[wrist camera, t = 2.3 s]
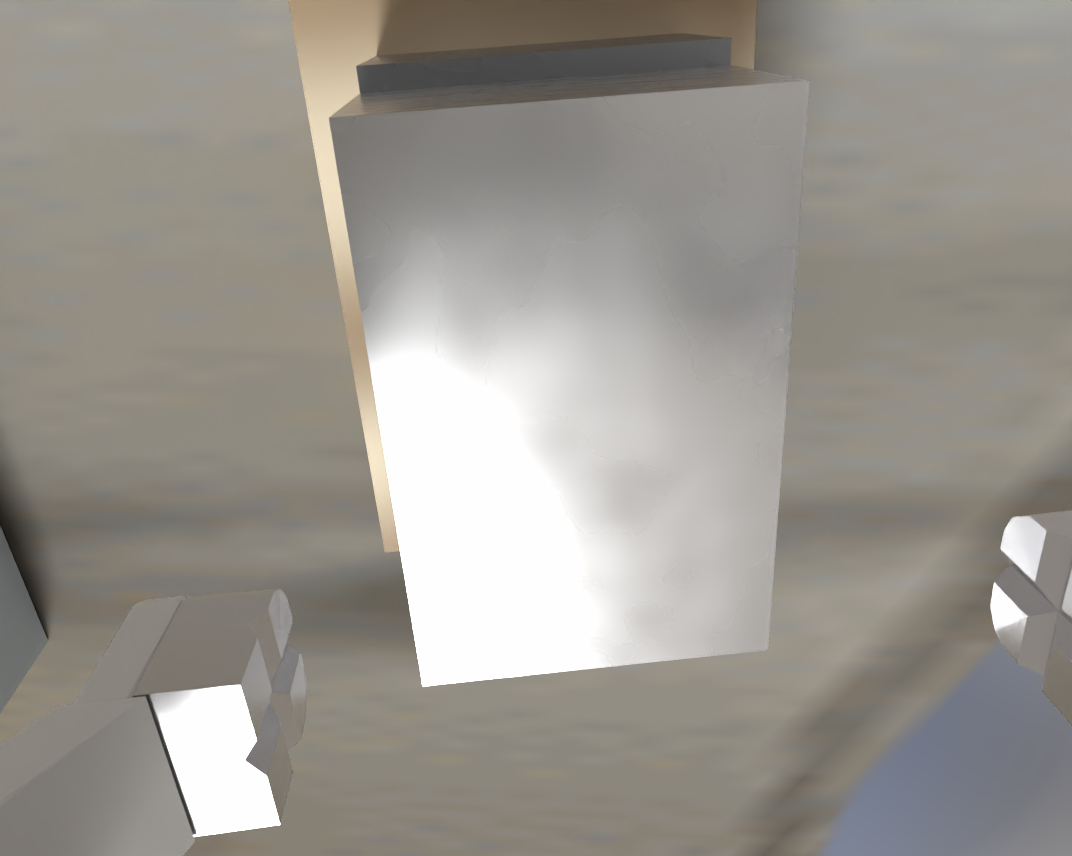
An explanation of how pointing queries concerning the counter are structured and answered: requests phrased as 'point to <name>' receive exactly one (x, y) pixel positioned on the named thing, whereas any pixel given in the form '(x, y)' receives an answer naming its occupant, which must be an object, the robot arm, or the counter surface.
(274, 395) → the counter surface
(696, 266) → the block
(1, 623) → the stand
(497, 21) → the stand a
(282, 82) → the counter surface
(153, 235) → the counter surface
